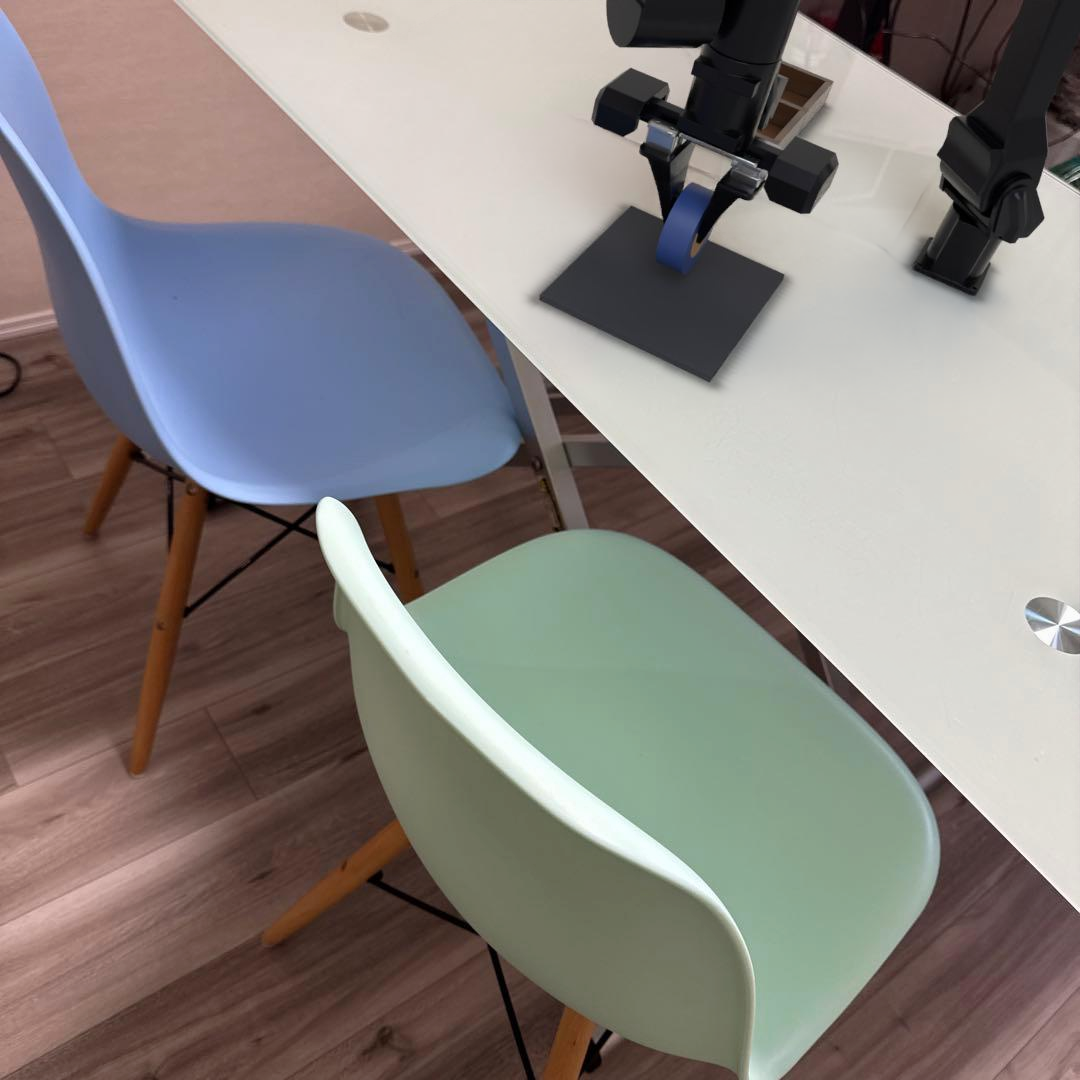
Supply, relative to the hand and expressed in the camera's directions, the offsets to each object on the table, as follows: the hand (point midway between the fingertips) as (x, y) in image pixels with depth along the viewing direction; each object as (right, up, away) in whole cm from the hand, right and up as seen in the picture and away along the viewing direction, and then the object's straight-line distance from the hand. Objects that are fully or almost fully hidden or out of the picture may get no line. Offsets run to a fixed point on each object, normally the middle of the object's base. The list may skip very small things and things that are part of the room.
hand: (684, 234), depth 82 cm
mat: (-1, -4, +4) cm, 6 cm away
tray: (+12, +21, +27) cm, 37 cm away
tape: (-1, -2, +2) cm, 3 cm away
